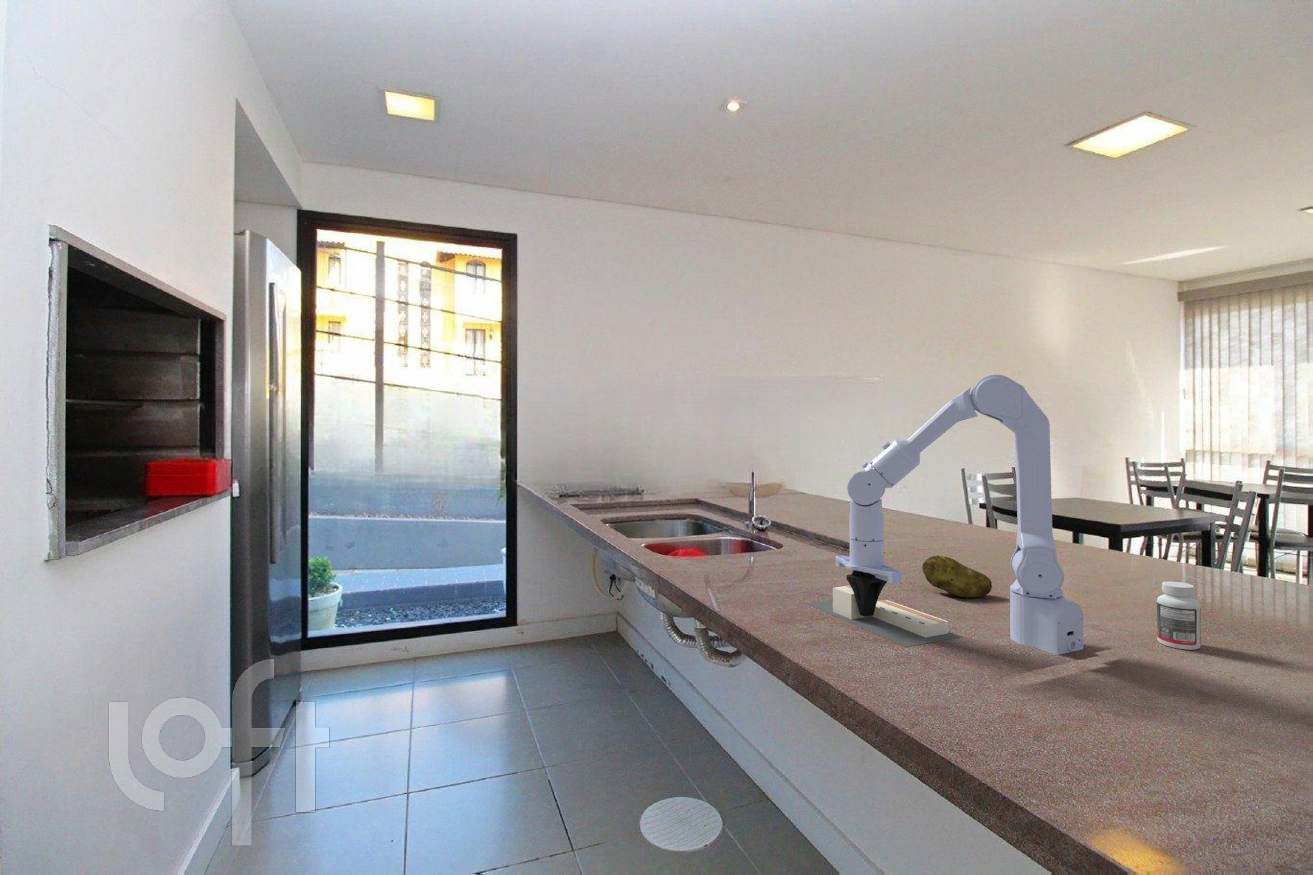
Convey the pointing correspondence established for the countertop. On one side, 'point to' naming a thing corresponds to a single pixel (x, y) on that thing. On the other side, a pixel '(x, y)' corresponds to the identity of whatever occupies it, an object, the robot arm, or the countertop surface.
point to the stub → (845, 602)
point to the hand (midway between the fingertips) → (866, 615)
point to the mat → (884, 627)
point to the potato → (955, 577)
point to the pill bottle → (1178, 616)
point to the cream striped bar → (910, 619)
